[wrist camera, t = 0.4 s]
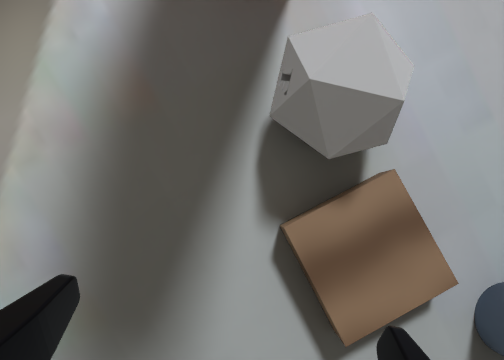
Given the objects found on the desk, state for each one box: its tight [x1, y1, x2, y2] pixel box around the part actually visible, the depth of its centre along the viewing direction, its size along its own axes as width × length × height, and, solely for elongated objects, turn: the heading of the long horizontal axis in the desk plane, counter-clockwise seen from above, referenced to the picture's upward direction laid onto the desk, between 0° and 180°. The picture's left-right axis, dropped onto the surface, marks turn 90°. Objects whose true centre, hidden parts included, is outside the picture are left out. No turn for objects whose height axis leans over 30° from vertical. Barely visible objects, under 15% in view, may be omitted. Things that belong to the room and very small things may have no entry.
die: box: [269, 13, 414, 159], centre depth 20 cm, size 8×9×10 cm
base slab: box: [280, 169, 459, 347], centre depth 22 cm, size 9×9×2 cm
